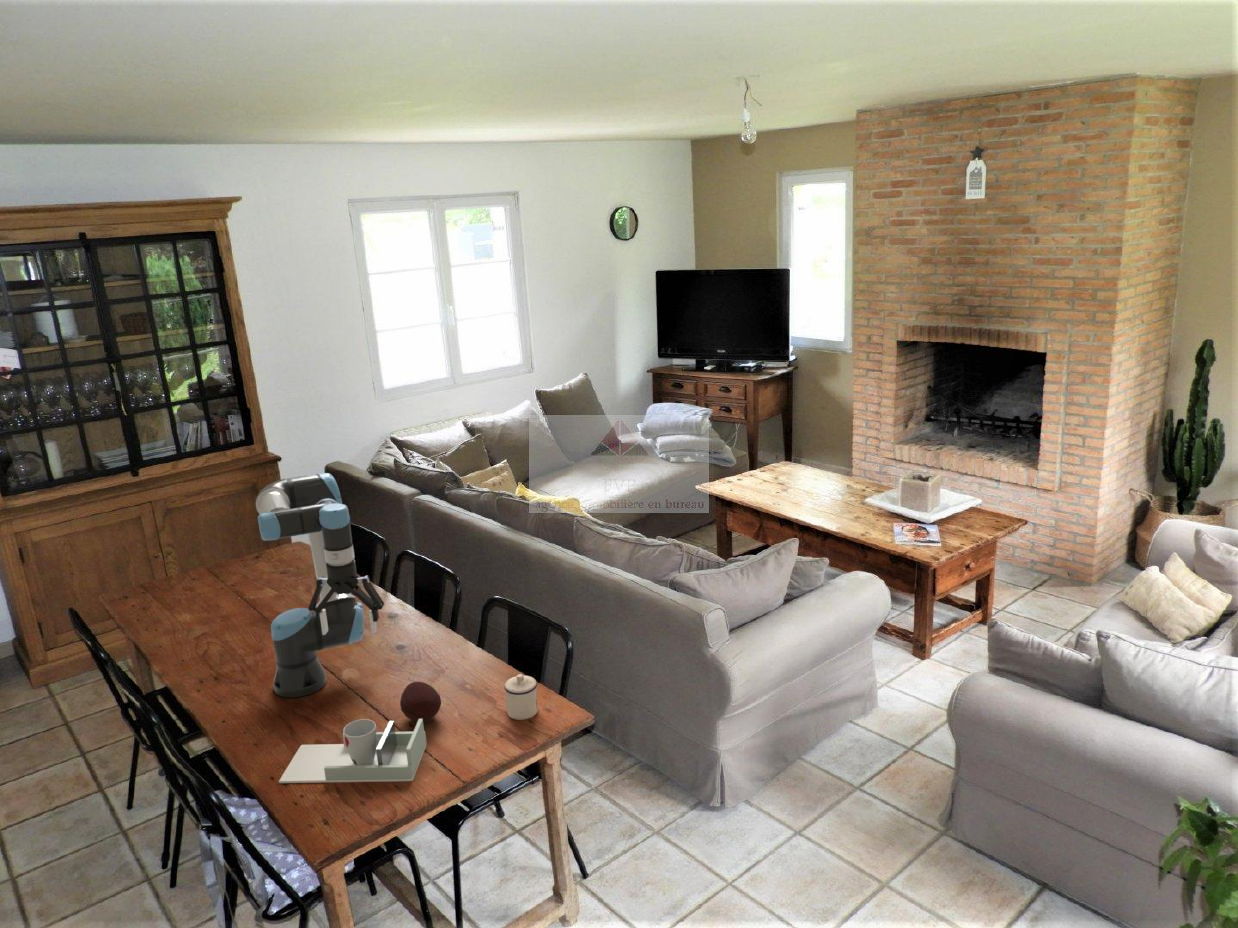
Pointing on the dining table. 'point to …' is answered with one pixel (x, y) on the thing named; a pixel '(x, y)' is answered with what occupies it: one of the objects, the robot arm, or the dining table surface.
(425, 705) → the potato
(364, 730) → the cup
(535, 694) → the teacup with lid
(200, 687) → the dining table surface
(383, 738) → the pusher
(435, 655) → the dining table surface
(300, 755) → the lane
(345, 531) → the robot arm
